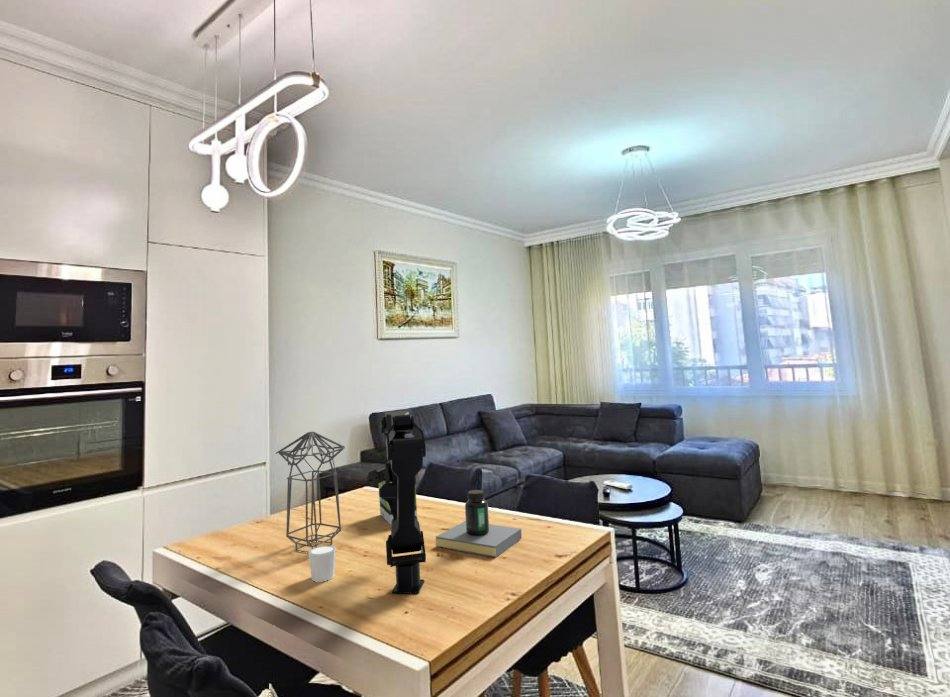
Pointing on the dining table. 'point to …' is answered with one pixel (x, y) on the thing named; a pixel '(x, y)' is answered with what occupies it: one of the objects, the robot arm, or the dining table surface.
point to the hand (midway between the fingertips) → (401, 515)
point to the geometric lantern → (297, 448)
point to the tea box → (385, 507)
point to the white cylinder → (322, 563)
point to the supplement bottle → (476, 514)
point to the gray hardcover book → (479, 540)
